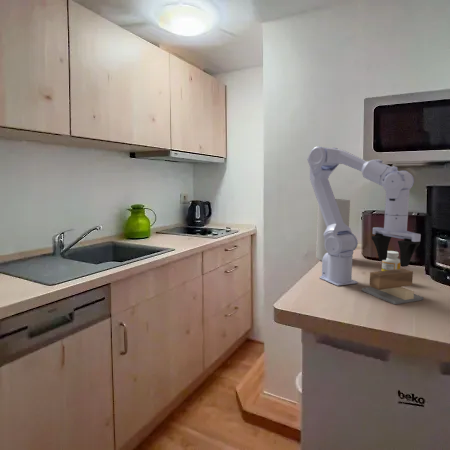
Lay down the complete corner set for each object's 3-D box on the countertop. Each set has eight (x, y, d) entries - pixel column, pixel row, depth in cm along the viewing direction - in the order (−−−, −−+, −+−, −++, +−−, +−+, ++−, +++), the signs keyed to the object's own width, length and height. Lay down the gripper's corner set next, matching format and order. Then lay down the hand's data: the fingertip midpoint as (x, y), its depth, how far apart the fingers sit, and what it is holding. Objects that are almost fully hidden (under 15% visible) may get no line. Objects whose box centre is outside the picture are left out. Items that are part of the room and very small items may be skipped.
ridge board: (361, 290, 99) (362, 281, 99) (387, 287, 103) (388, 278, 102) (394, 304, 88) (395, 294, 88) (422, 299, 91) (423, 289, 91)
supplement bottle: (386, 283, 106) (388, 253, 105) (377, 278, 112) (379, 250, 111) (402, 283, 107) (404, 253, 106) (392, 278, 112) (394, 250, 111)
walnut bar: (369, 286, 94) (370, 272, 94) (401, 281, 99) (402, 268, 98) (378, 289, 91) (379, 275, 91) (412, 285, 95) (413, 271, 95)
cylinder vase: (309, 257, 143) (311, 199, 140) (332, 255, 148) (334, 198, 145) (330, 264, 132) (332, 200, 129) (354, 261, 137) (357, 199, 134)
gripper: (365, 213, 98) (362, 258, 100) (407, 217, 84) (403, 270, 86) (384, 212, 100) (381, 256, 102) (428, 216, 87) (424, 268, 88)
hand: (393, 263), depth 94 cm, fingers open, 7 cm apart
